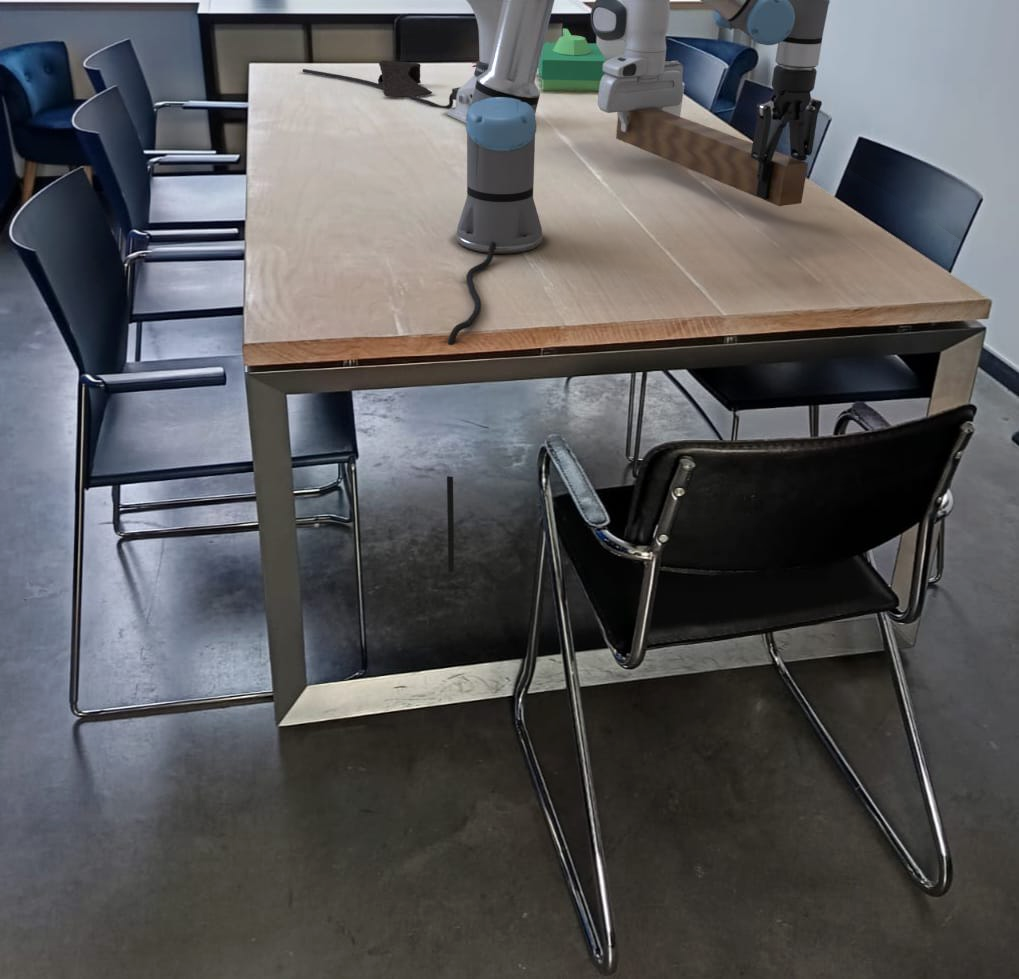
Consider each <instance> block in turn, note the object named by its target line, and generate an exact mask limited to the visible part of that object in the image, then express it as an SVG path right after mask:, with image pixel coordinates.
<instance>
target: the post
mask: <svg viewBox="0 0 1019 979" xmlns="http://www.w3.org/2000/svg"><path fill="white" fill-rule="evenodd" d="M626 118H627V121H628V122H629V123H631V130H630V131H628V132H623V131H621V121H620V119H619V117H618V116H617V123H616V134H615V139H616V140H619V141H621V142H624V143H626V144H629V145H631V146H633V147H635V148H638V149H640V150H643V151H645V152H648V153H650V154H653V155H655V156H657V157H659V158H662V159H665V160H667V161H670V162H672V163H675V164H677V165H678V166H681V167H684V168H686V169H688V170H691V171H694V172H696V173H699V174H700V175H703V176H704V177H705V176H706V177H708V178H709V179H713V180H715V181H717V182H720V183H722V184H725V185H727V186H729V187H731V188H734V189H736V190H739V191H741V192H743V193H746V194H748V195H751V196H754V197H757V198H758V199H761V200H762V201H765V202H767V203H770V204H772V205H775V206H776V207H777V206H778V207H784V206H791V205H797V204H798V205H799V204H802V202H803V197H804V196H803V195H804V190H805V185H806V177H807V172H808V167H809V162H806V161H801V160H798V159H795V158H793V157H791V155H790V156H789V155H786V154H785V153H781V152H778V151H776V150H775V152H774V155H773V157H772V160H771V162H770V163H772V164H774V168H773V174H772V180H771V186H770V193H769V199H766V200H765V199H763V198H761V197H758V196H756V192H757V186H758V179H757V172H758V165H759V162H758V160H755V159H753V158H751V151H752V145H753V142H751V141H748V140H745V139H742V138H740V137H737V136H734V135H731V134H729V133H726V132H723V131H721V130H717V129H715V128H712V127H709V126H707V125H704V124H701V123H699V122H695V121H692V120H690V119H688V118H684V117H682V116H680V117H679V116H676V115H674V114H671V113H668V112H665V111H663V110H660V109H657V108H647V109H637V110H632V111H628V116H626ZM765 156H766V155H765Z"/></svg>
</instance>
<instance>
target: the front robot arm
mask: <svg viewBox="0 0 1019 979" xmlns="http://www.w3.org/2000/svg"><path fill="white" fill-rule="evenodd" d="M699 1H700V2H702V3H703V4H704V5H706V6H707V7H709V8H710V9H712V11H713V22H714V25H715V26H716V27H717V28H720V29H729V30H740V31H741V32H743V33H744V34H745V35H747V36H748V37H749V38H750V39H751V40H752V41H754V42H755V43H756V44H759V45H763V46H775V45H777V48H776V54H775V61H774V62H775V63H776V64H777V65H775V66H774V67H773V73H772V78H771V87H772V94H771V96H770V99H769V101H767V102H765V103H760V102H759V103H757V105H756V116H757V117H756V121H755V122H756V124H755V129H754V134H753V140H752V143H753V145H752V151H751V158H753V159H755V160H758V162H759V165H758V172H757V179H758V186H757V192H756V196H758V197H761V198H763V199H765V200H766V199H769V193H770V186H771V180H772V174H773V168H774V164H772V163H770V162H771V160H772V157H773V155H774V152H775V151H776V150H777V146H778V143H779V141H780V138H781V135H782V133H783V130H784V128H786V127H787V124H788V127H789V129H788V130H789V149H790V157H793V158H795V159H798V160H801V161H804V162H806V160H807V158H808V156H811V155H812V154H813V148H814V142H815V136H816V129H817V122H818V115H819V112H820V110H821V108H822V105H823V102H822V101H821V100H818V99H815V98H813V97H812V96H811V92H812V91H813V90H815V85H816V81H817V80H816V78H817V73H818V71H817V68H816V67H818V66H819V62H820V55H821V50H822V44H823V36H824V32H825V26H826V21H827V16H828V11H829V6H830V3H831V0H699ZM554 3H555V0H503V4H502V8H501V13H500V17H499V22H498V26H497V31H496V35H495V39H494V44H493V48H492V53H491V57H490V62H489V66H488V69H487V71H485V72H484V73H482V74H481V75H479V76H478V77H477V81H476V86H475V90H474V95H473V99H472V103H471V105H470V108H469V109H468V112H467V117H466V123H465V130H466V192H467V193H466V198H465V202H464V205H463V209H462V211H461V214H460V218H459V220H458V224H457V228H456V241H457V243H458V244H459V245H461V246H462V247H464V248H466V249H468V250H470V251H475V252H479V253H486V254H487V255H486V258H485V259H484V260H483V261H482V262H481V263H479V264H477V265H475V266H473V267H471V268H469V270H468V272H467V274H466V276H465V277H466V278H465V279H466V285H467V287H468V290H469V294H470V295H471V297H472V299H473V302H474V307H473V308H474V309H473V311H472V313H471V314H470V316H469V317H468V318H467V319H466V320H465V321H463V322H460V323H457V324H456V325H455V326H454V327H453V328H452V330H451V332H450V334H449V335H448V340H447V345H449V346H453V345H455V343H456V339H457V336H458V334H459V333H460V332H461V331H462V330H464V329H468V328H470V327H471V326H472V325H473V324H474V322H475V321H476V320H477V318H478V317H479V315H480V312H481V309H482V300H481V298H480V295H479V294H478V292H477V289H476V287H475V283H474V281H473V277H474V275H475V274H476V273H477V272H479V271H482V270H484V269H485V268H487V267H488V266H489V265H490V264H491V263H492V260H493V258H494V254H497V255H499V254H500V255H506V254H507V255H508V254H517V253H524V252H527V251H530V250H533V249H536V248H538V247H539V246H540V245H541V244H542V243H543V229H542V224H541V221H540V220H541V219H540V218H539V214H538V213H539V212H538V210H537V206H536V204H535V199H534V183H535V181H534V180H535V148H536V147H535V146H536V133H537V128H538V127H537V121H536V112H537V108H538V104H539V101H540V97H541V92H540V89H539V88H538V87H537V85H536V77H537V73H538V65H539V61H540V57H541V53H542V49H543V45H544V43H545V40H546V37H547V32H548V28H549V25H550V21H551V20H550V19H551V16H552V11H553V8H554V5H555V4H554ZM765 155H766V156H765ZM756 196H755V197H756ZM758 197H757V198H758ZM763 199H762V200H763ZM765 200H764V201H765ZM446 504H447V505H446V506H447V509H446V510H447V571H448V572H449V573H454V572H455V524H454V522H455V520H454V519H455V518H454V517H455V516H454V515H455V514H454V511H455V510H454V476H449V475H446Z"/></svg>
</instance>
